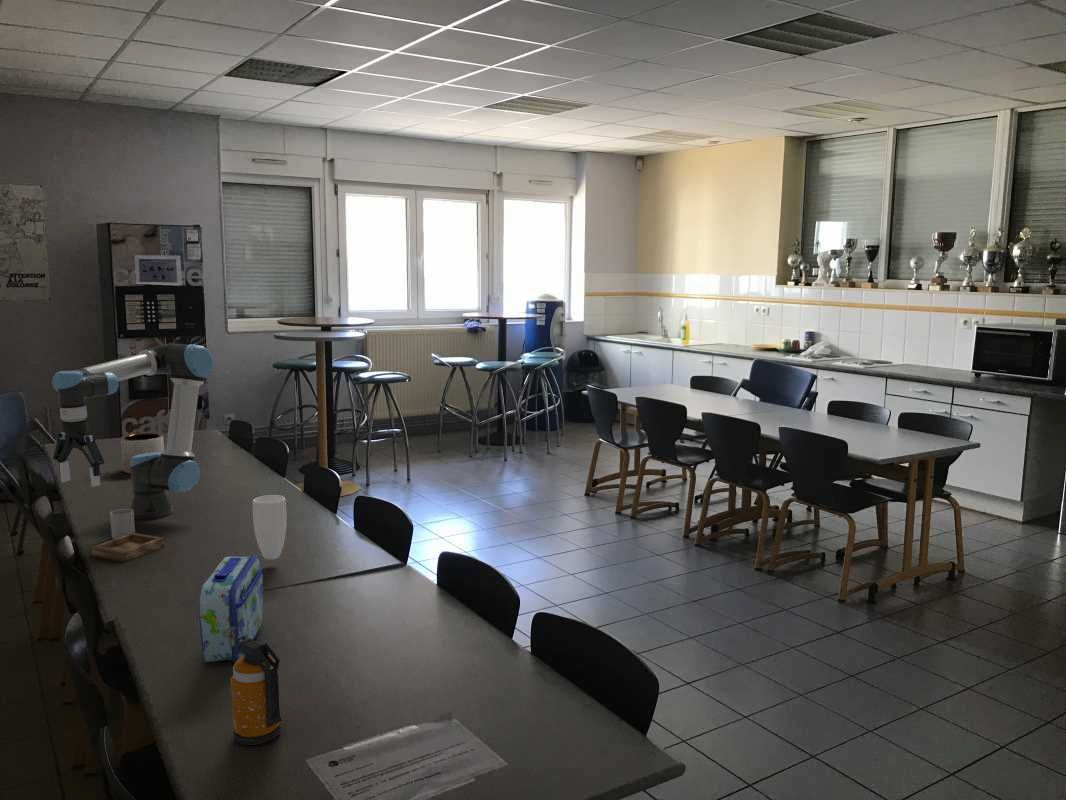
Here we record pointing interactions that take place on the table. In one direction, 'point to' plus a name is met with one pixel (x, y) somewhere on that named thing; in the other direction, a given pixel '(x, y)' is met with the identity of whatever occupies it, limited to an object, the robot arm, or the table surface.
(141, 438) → the planter
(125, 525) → the cup
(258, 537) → the cup
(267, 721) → the canister
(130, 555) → the tray
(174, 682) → the table surface
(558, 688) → the table surface
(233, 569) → the lunch box
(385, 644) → the table surface
